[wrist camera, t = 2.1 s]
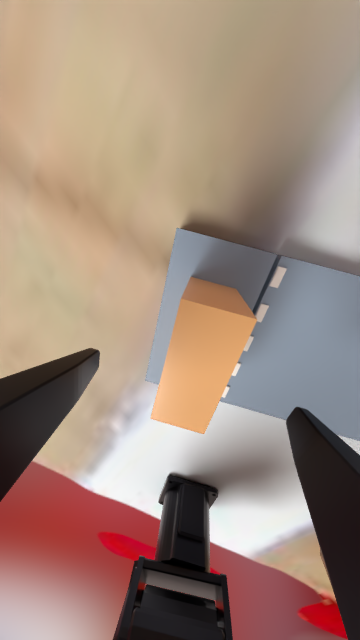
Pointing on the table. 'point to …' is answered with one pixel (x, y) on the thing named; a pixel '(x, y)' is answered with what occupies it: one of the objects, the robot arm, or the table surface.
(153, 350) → the stub
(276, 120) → the table surface
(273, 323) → the ticket board
